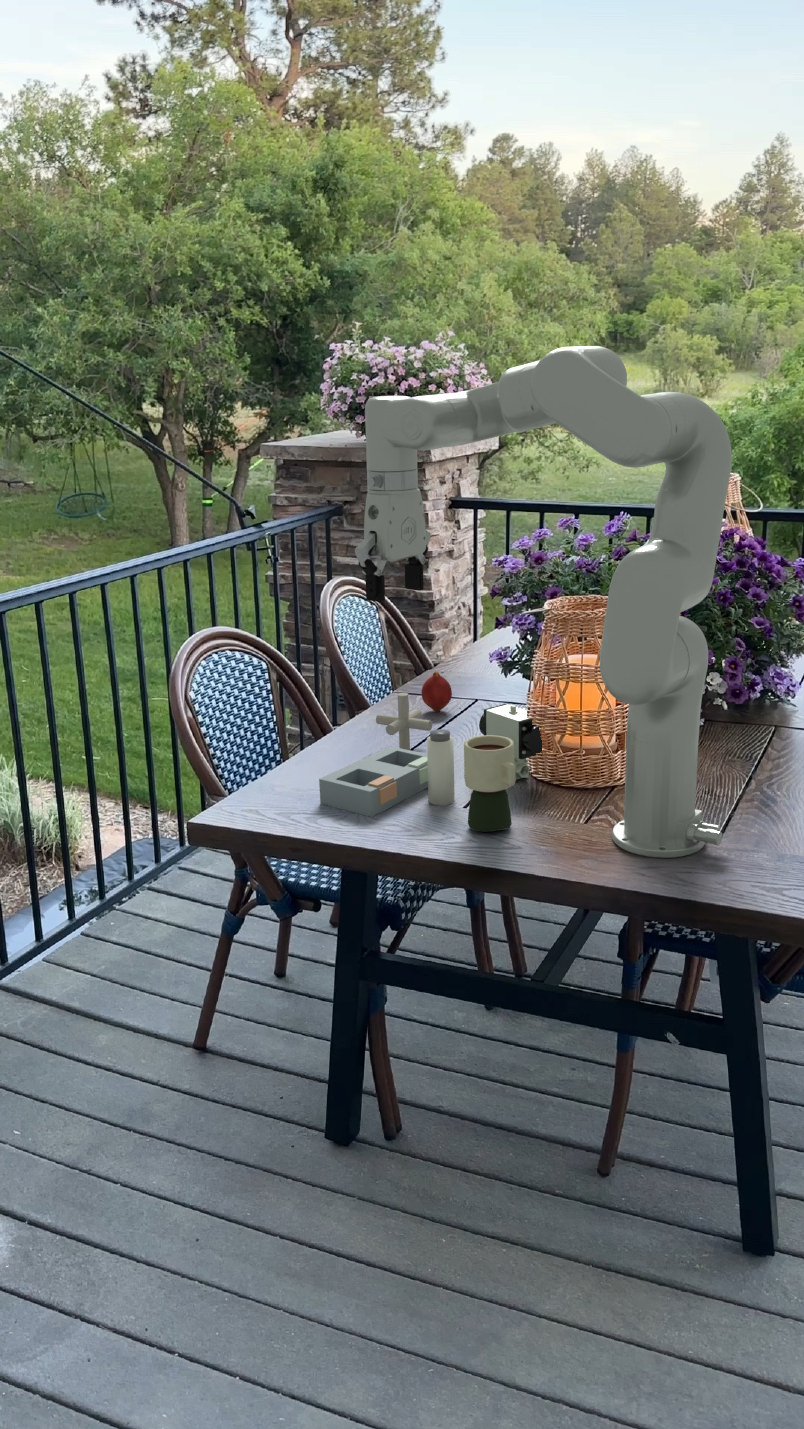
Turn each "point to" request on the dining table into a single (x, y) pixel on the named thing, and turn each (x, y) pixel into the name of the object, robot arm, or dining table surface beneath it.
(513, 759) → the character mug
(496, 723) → the pneumatic valve
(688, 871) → the dining table surface
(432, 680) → the onion
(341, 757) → the dining table surface
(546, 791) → the dining table surface
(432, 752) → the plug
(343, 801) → the socket block
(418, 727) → the pipe connector
